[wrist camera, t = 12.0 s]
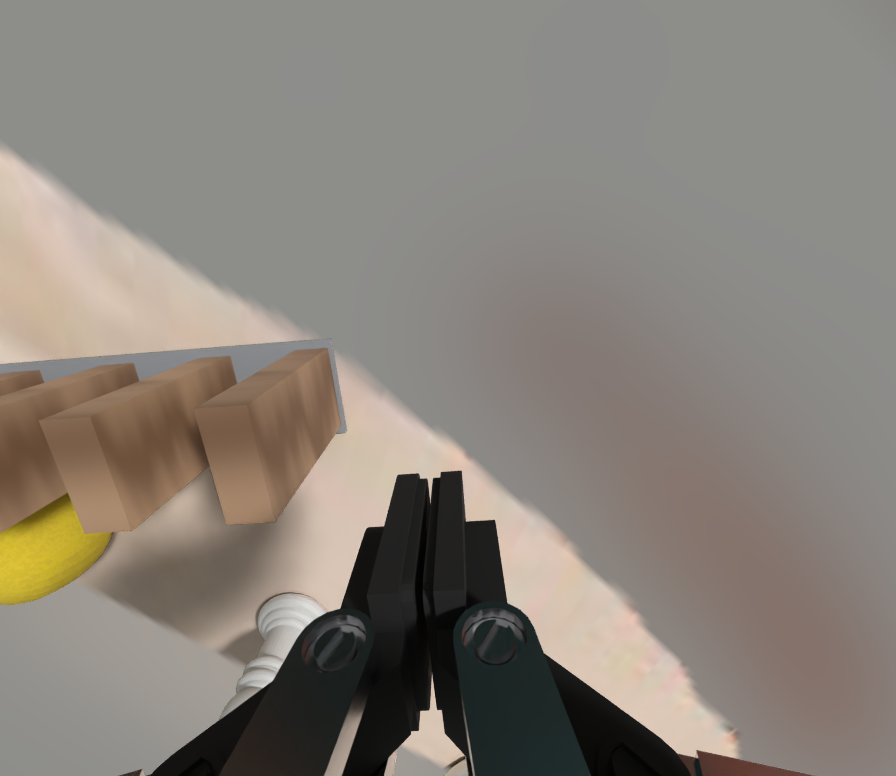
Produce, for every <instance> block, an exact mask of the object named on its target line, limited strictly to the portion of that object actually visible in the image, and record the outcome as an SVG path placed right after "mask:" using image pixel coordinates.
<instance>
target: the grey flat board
mask: <svg viewBox="0 0 896 776" xmlns="http://www.w3.org/2000/svg"><path fill="white" fill-rule="evenodd" d="M319 348H328V351H329V357H330V363H331V368H332V374H333V380H334V386H335V392H336V398H337V403H338V409H339V415H340V421H341V427H340V428H339V429H338V431H337V432H336V433H346V431H347V429H346V423H345V417H344V411H343V405H342V399H341V393H340V387H339V381H338V375H337V369H336V363H335V357H334V351H333V345H332V340H331V338H329V339H316V340H304V341H291V342H278V343H265V344H252V345H240V346H227V347H214V348H201V349H188V350H176V351H163V352H150V353H137V354H125V355H112V356H99V357H86V358H73V359H61V360H48V361H35V362H22V363H10V364H0V375H1V374H5V373H9V372H21V371H34V370H40V373H41V375H42V378H43V380H44V383H45V382H49V381H52V380H55V379H59V378H62V377H65V376H68V375H72V374H75V373H78V372H82V371H85V370H88V369H91V368H95V367H98V366H101V365H112V364H125V363H134V365H135V368H136V372H137V375H138V378H139V381H141V380H144V379H146V378H149V377H152V376H154V375H157V374H159V373H162V372H164V371H167V370H169V369H172V368H175V367H177V366H180V365H182V364H185V363H187V362H190V361H192V360H195V359H198V358H208V357H221V356H231V360H232V364H233V368H234V372H235V376H236V381H237V383H239V382H241V381H243V380H244V379H246V378H248V377H250V376H251V375H253V374H255V373H257V372H258V371H260V370H262V369H264V368H265V367H267V366H269V365H270V364H272V363H274V362H276V361H277V360H279V359H281V358H283V357H284V356H286V355H288V354H290V353H291V352H293V351H295V350H306V349H319Z"/></svg>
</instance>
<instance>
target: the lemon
mask: <svg viewBox="0 0 896 776" xmlns="http://www.w3.org/2000/svg"><path fill="white" fill-rule="evenodd" d="M111 534H112V532H108V533H91V534H85V533H84V531H83V528H82V526H81V524H80V521H79V519H78V516H77V514H76V511H75V509H74V506H73V504H72V501H71V499H70V497H69V494H68V493H66V494H64V495H63V496H61V497H59V498H58V499H56V500H54V501H53V502H51V503H49V504H48V505H46V506H44V507H43V508H41V509H39V510H38V511H36V512H35V513H33V514H31V515H30V516H28V517H26V518H25V519H23V520H21V521H20V522H18V523H16V524H15V525H13V526H11V527H10V528H8V529H6V530H5V531H3V532H1V533H0V604H2V605H14V604H21V603H26V602H30V601H34V600H37V599H39V598H42V597H44V596H46V595H48V594H50V593H52V592H54V591H56V590H58V589H60V588H62V587H64V586H65V585H67V584H69V583H70V582H72V581H73V580H75V579H76V578H78V577H79V576H80V575H81V574H83V573H84V572H85V571H86V570H87V569H88V568H89V567H90V566H91V565H92V564H93V563H94V562H95V561H96V560H97V559H98V558H99V557H100V556H101V554H102V553H103V552H104V550H105V548H106V546H107V544H108V542H109V540H110V538H111Z"/></svg>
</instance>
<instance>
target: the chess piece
mask: <svg viewBox="0 0 896 776" xmlns="http://www.w3.org/2000/svg"><path fill="white" fill-rule="evenodd" d="M325 613H327V612H326V610H325V609H324V608H323V607H322V606H321V605H320V604H319V603H318V602H317V601H315V600H314V599H312V598H310V597H308V596H305V595H301V594H294V593H288V594H281V595H278V596H276V597H273V598H272V599H270V600H269V601H268V602H267V603H266V604H265V605H264V606H263V607H262V609H261V610H260V613H259V617H258V629H259V632H260V634H261V636H262V637H263V639H264V640H265V641H264V643H263V645H262V647H261V649H260V651H259V653H258V655H257V657H256V658H255V659H253V660H252V661H250V662H249V663H248V665H247V666H246V667H245V669H244V673H243V676H242V677H241V678H240V679H239V681H238V683H237V687H236V695H235V696H234V697H233V698H232V699H231V700H230V701H229V702H228V704H227V705H226V706H225V708H224V710H223V711H222V713H221V716H220V718H219V720H220V719H222V718H223V717H224V716H226V715H227V714H228V713H230V712H231V711H232V710H234V709H235V708H236V707H238V706H239V705H241V704H242V703H243V702H245V701H246V700H247V699H249V698H250V697H251V696H253V695H254V694H255V693H257V692H258V691H259V690H261V689H262V688H264V687H265V686H266V685H268V684H269V683H270V682H272V681H273V679H274V678H275V676H276V674H277V672H278V671H279V669H280V667H281V665H282V664H283V662H284V660H285V658H286V657H287V655H288V653H289V651H290V650H291V648H292V646H293V644H294V643H295V641H296V639H297V637H298V636H299V635H300V633H301V632H302V631H303V629H304V628H305V627H306V626H307V625H308V624H310V623H311V622H312V621H313V620H314V619H316V618H318V617H319V616H321V615H323V614H325Z"/></svg>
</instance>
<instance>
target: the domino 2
mask: <svg viewBox="0 0 896 776" xmlns="http://www.w3.org/2000/svg"><path fill="white" fill-rule="evenodd" d="M236 384H237V381H236V376H235V372H234V368H233V364H232V360H231V356H221V357H208V358H198V359H195V360H192V361H190V362H187V363H185V364H182V365H180V366H177V367H175V368H172V369H169V370H167V371H164V372H162V373H159V374H157V375H154V376H152V377H149V378H146V379H144V380H141V381H139V382H136V383H134V384H131V385H128V386H126V387H123V388H121V389H118V390H116V391H113V392H111V393H108V394H105V395H103V396H100V397H98V398H95V399H93V400H90V401H88V402H85V403H82V404H80V405H77V406H75V407H72V408H70V409H67V410H64V411H62V412H59V413H57V414H54V415H52V416H49V417H47V418H44V419H41V420H39V423H40V425H41V428H42V430H43V433H44V435H45V438H46V440H47V443H48V445H49V447H50V450H51V452H52V455H53V457H54V460H55V462H56V465H57V467H58V470H59V472H60V474H61V477H62V479H63V482H64V484H65V487H66V489H67V492H68V494H69V497H70V499H71V501H72V504H73V506H74V509H75V511H76V514H77V516H78V519H79V521H80V524H81V526H82V528H83V531H84V533H85V534H91V533H108V532H125V531H132V530H134V529H135V528H136V527H137V526H138V525H140V524H141V523H142V522H143V521H144V520H146V519H147V518H148V517H149V516H150V515H151V514H153V513H154V512H155V511H156V510H157V509H159V508H160V507H161V506H162V505H163V504H165V503H166V502H167V501H168V500H169V499H170V498H172V497H173V496H174V495H175V494H176V493H178V492H179V491H180V490H181V489H182V488H183V487H185V486H186V485H187V484H188V483H189V482H191V481H192V480H193V479H194V478H195V477H197V476H198V475H199V474H200V473H201V472H202V471H204V470H205V469H206V468H207V467H208V466H210V465H209V462H208V458H207V455H206V451H205V448H204V444H203V441H202V437H201V434H200V430H199V426H198V423H197V419H196V416H195V412H194V408H196V407H197V406H199V405H201V404H203V403H204V402H206V401H208V400H210V399H211V398H213V397H215V396H217V395H218V394H220V393H222V392H224V391H225V390H227V389H229V388H230V387H232V386H234V385H236Z"/></svg>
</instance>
